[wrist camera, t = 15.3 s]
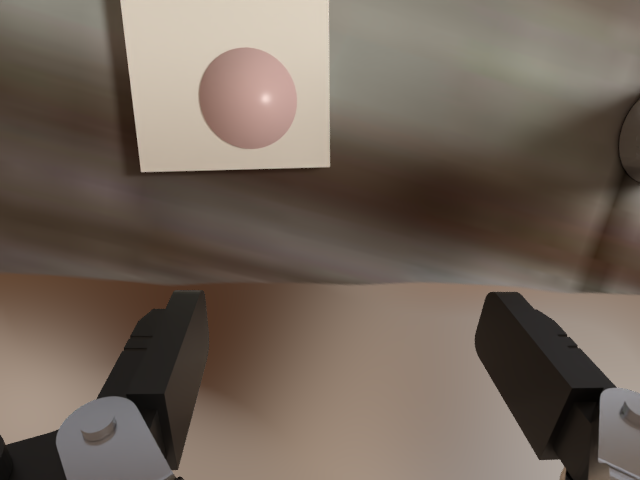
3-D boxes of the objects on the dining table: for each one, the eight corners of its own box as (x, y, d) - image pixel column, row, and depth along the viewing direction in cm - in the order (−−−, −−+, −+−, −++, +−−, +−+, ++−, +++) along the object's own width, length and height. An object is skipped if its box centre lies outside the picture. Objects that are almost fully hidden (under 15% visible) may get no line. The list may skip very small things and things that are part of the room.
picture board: (322, -158, 28) (327, -176, 26) (325, 165, 33) (330, 167, 31) (103, -187, 25) (94, -208, 23) (145, 170, 30) (140, 172, 29)
